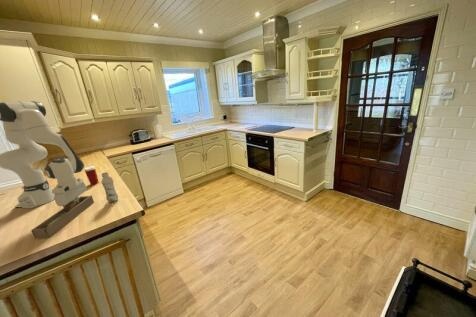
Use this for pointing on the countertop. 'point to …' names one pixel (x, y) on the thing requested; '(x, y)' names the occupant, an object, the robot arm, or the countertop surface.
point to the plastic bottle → (109, 187)
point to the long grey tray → (61, 219)
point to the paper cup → (91, 175)
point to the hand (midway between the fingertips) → (76, 204)
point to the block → (70, 206)
